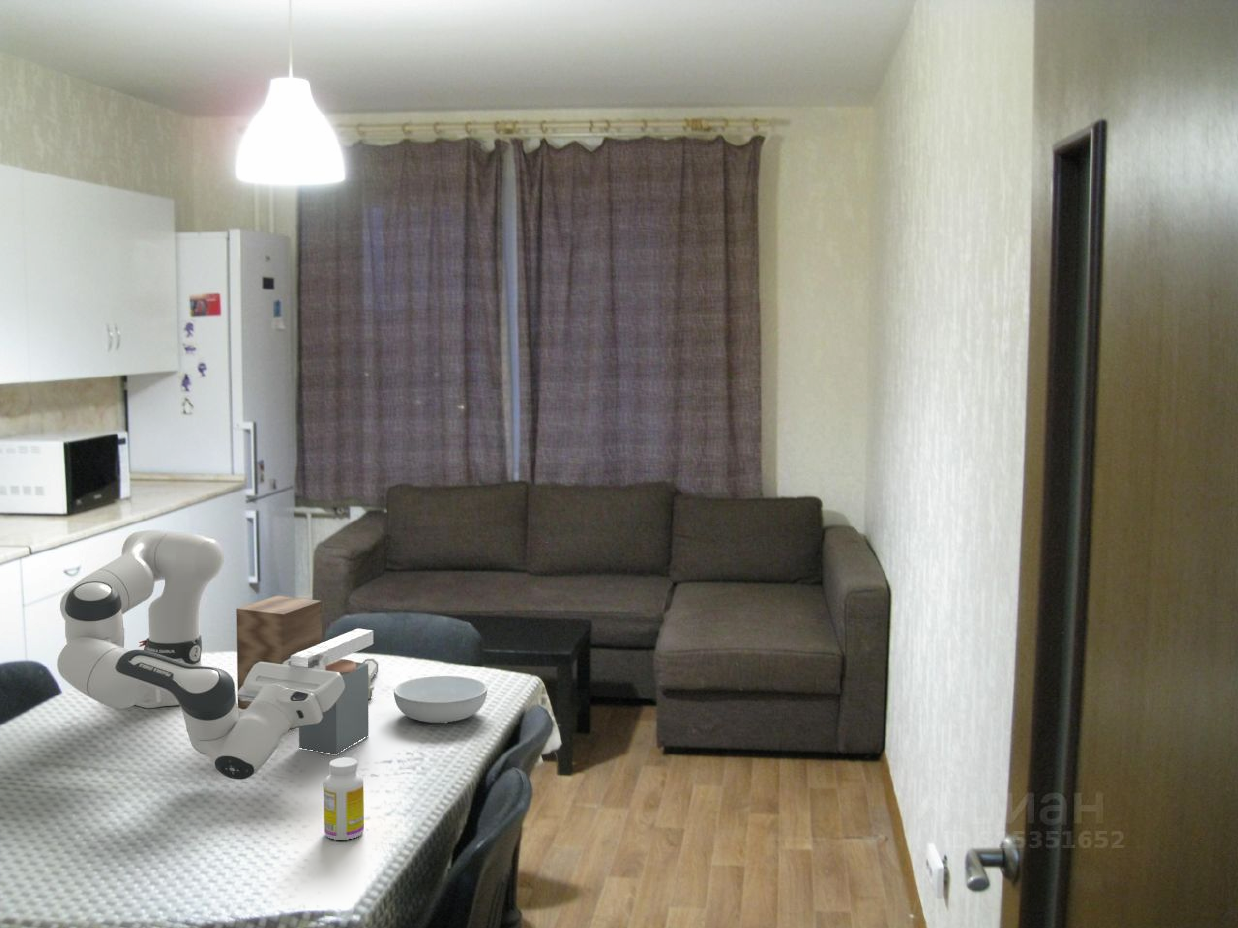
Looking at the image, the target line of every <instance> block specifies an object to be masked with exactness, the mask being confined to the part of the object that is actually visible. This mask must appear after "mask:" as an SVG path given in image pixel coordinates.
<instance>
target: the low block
mask: <svg viewBox="0 0 1238 928" xmlns="http://www.w3.org/2000/svg"><path fill="white" fill-rule="evenodd" d="M326 671H333V672H339V673H340V674H341V676H342V678H343V681H344V684H345V688H344V690H343V692H342V694H341V695H340V697H339V698H338V699H337V701H336V702H335V703H334V705H333V706H332V707H331V708H330V709H329V710H327V711H325V712H322V715H323V718H322V720H321V721H320V722H319V723H317V724H310V725H303V726H299V727H298V749H299V748H302V749H307V750H313V751H318V752H323V753H322V754H324V753H330V754H338V753H340V752H341V751H343V750H344V749H346V748H348V747H349V746H351V745H353V744H354V743H356V742H358V741H359V740H361V739H363V738H364V737H367V736H368V737H369V700H368V664H365V663H363V662H356V661H353V660H351V659H344V658H340V659H338V660H336V661H334V662H331V663H329V664H327V665H326ZM318 752H317V753H318ZM330 754H329V755H330ZM340 754H341V753H340ZM338 755H339V754H338Z"/></svg>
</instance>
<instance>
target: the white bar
mask: <svg viewBox="0 0 1238 928" xmlns="http://www.w3.org/2000/svg"><path fill="white" fill-rule="evenodd" d="M372 645H374V630H373V629H372V630H371V629H365V628H364V629H363V628H355V629H353V630H350V631H347V632H346V633H343V634H340V635H338V636H335V637H333V638H331V639H328V640H326V641H322V643H321V644H318V645H316V646H313V647H311V648H308V649H306V650H303V651H301V652H298V653H296V654H294V655H291V666H296V667H304V668H311V669H315V668H316V667H317V666H318V667H319V665H318V663H317V658H318V657H319V656H320V655H326V656H328V659H329V662H328V664H329V663H331V662H334V661H336V660H338V659H344V658H345V657H348V656H349V655H351V654H354V653H356V652H358V651H361V650H363V649H366V648H368V647H370V646H372Z"/></svg>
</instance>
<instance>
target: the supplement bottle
mask: <svg viewBox="0 0 1238 928" xmlns="http://www.w3.org/2000/svg"><path fill="white" fill-rule="evenodd" d="M328 767H329V768H328V770H329V772H330V774H329V775H328V776H326V778H325V779H324V781H323V830H324V835H325V837H326V838H327V837H328V839H329V838H330V839H329V840H331V839H334V840H333V841H336V840H347V841H350V840H349V839H352V840H354V839H353V838H355V839H357V838H359V837H360V836H361V835H363V833H364V829H365V813H364V812H365V811H364V810H365V809H364V808H365V807H364V806H365V803H364V779H363V776H362V775H361V774H360V773H358V772H357V771H358V760H357V759H355V758H352V757H338V758H334V759H332V760H330V761H329V765H328ZM358 836H359V837H358ZM356 837H357V838H356Z"/></svg>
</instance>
